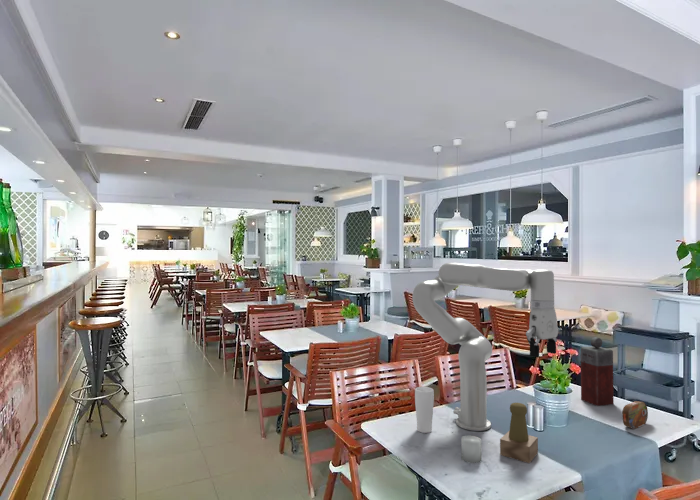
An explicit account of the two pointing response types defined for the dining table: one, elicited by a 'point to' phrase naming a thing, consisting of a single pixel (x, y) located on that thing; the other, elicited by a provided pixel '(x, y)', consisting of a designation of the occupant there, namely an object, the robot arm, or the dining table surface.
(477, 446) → the grey rounded block
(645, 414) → the tin
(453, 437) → the dining table surface
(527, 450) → the block
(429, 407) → the drinking glass
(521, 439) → the cork
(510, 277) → the robot arm
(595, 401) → the dark red canister
